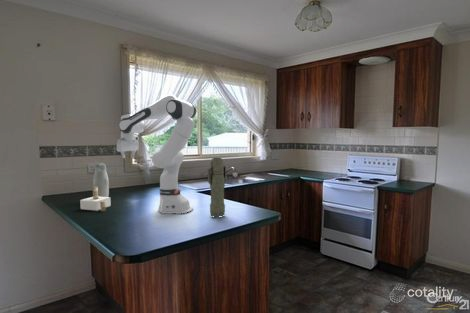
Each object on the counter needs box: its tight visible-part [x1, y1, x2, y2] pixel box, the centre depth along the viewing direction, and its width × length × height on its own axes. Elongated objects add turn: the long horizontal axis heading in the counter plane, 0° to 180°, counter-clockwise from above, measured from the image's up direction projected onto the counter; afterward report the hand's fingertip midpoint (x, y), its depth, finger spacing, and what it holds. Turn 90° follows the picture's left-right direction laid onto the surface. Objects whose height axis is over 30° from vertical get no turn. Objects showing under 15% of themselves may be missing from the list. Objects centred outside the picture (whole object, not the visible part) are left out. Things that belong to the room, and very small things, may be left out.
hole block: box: [79, 196, 112, 211], centre depth 196 cm, size 13×13×6 cm
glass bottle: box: [92, 162, 110, 197], centre depth 216 cm, size 10×10×28 cm
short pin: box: [100, 201, 107, 212], centre depth 187 cm, size 3×3×6 cm
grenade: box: [207, 157, 227, 217], centre depth 174 cm, size 9×12×35 cm
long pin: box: [92, 186, 98, 200], centre depth 196 cm, size 3×3×14 cm
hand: (128, 157), depth 205 cm, fingers open, 8 cm apart
